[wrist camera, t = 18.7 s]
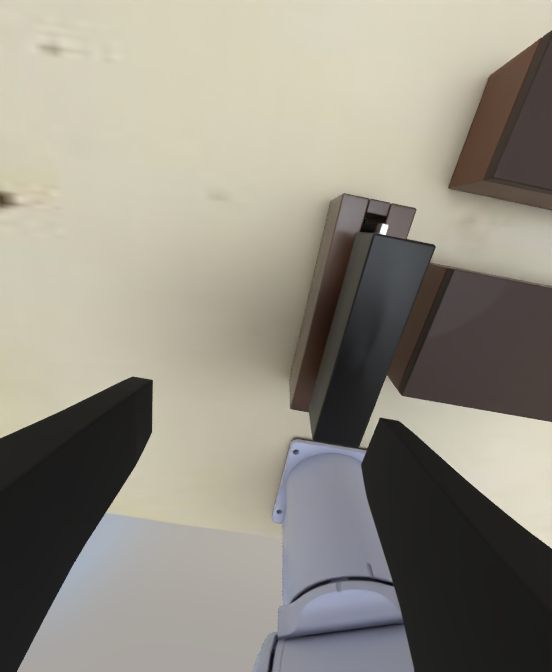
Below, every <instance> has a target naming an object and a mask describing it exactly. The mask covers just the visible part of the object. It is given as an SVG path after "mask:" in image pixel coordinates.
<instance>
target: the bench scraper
mask: <svg viewBox="0 0 552 672" xmlns="http://www.w3.org/2000/svg"><path fill="white" fill-rule="evenodd" d="M388 227H389V224H384V223H377V224H362V228H361V231H360V232H357V233H356V237H355V240H354V244H353V248H352V251H351V255H350V259H349V262H348V266H347V269H346V273H345V277H344V280H343V284H342V288H341V291H340V295H339V299H338V302H337V306H336V310H335V313H334V317H333V320H332V324H331V328H330V331H329V335H328V339H327V342H326V346H325V350H324V353H323V357H322V360H321V364H320V368H319V371H318V375H317V379H316V382H315V386H314V390H313V393H312V397H311V401H310V404H309V408H308V409H309V416H310V424H311V431H312V438H313V440H314V441H320V442H326V443H332V444H338V445H344V446H351V447H357V448H358V447H359V446H360V443H361V441H362V438H363V435H364V433H365V430H366V427H367V425H368V422H369V420H370V417H371V414H372V412H373V409H374V407H375V404H376V401H377V399H378V396H379V394H380V391H381V388H382V386H383V383H384V380H385V378H386V375H387V373H388V370H389V367H390V365H391V362H392V360H393V357H394V354H395V352H396V349H397V346H398V344H399V341H400V339H401V336H402V333H403V331H404V328H405V326H406V323H407V320H408V318H409V315H410V313H411V310H412V307H413V305H414V302H415V299H416V297H417V294H418V292H419V289H420V286H421V284H422V281H423V279H424V276H425V273H426V271H427V268H428V265H429V263H430V260H431V258H432V255H433V252H434V250H435V245H433V244H428V243H423V242H418V241H413V240H408V239H403V238H398V237H393V236H388V235H386V233H387V230H388Z"/></svg>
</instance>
